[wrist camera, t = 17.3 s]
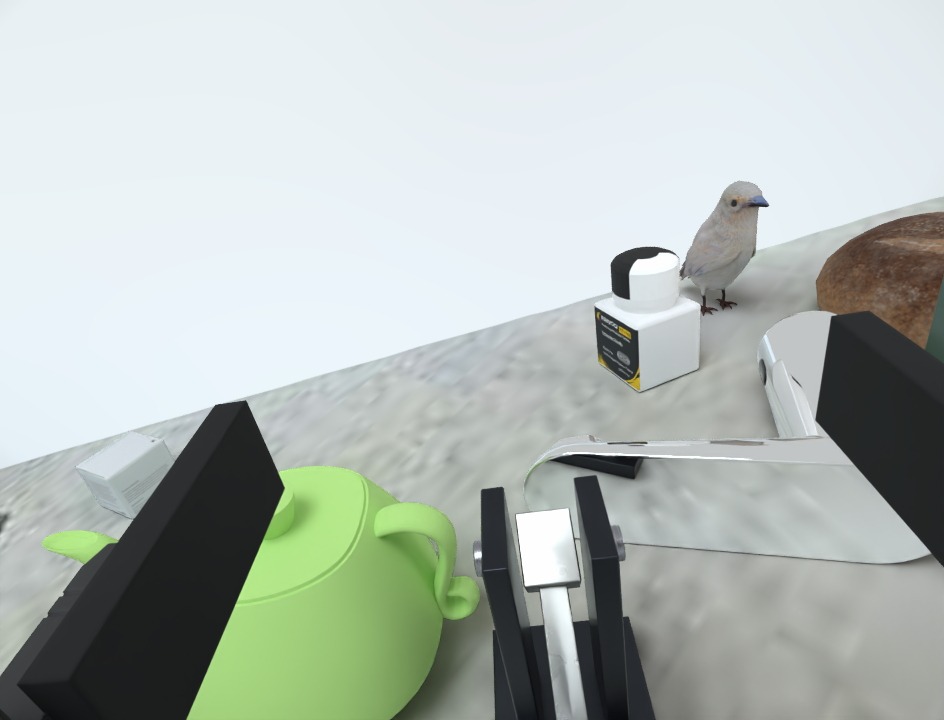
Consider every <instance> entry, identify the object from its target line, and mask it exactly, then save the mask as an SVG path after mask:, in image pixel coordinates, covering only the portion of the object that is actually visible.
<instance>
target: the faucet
mask: <svg viewBox="0 0 944 720" xmlns="http://www.w3.org/2000/svg"><path fill="white" fill-rule="evenodd" d="M834 315H838V314H836V313H832V312H827V311H806V312H801V313H797V314H793V315H791V316H788V317H786V318H784V319H782V320H781V321H779V322H777V323H776V324H774V325H773V326H772V327H771V328H770V329H769V330H768V331H767V332H766V333H765V335H764V336H763V337H762V339H761V341H760V343H759V346H758V350H757V362H758V366H759V371H760V376H761V379H762V382H763V385H764V386H765V390H766V393H767V397H768V400H769V403H770V407H771V410H772V414H773V417H774V420H775V424H776V427H777V431H778V434H779V437H773V438H732V439H690V440H648V441H606V442H602V441H601V440H599V439H598V438H596V437H594V436H591V435H582V436H575V437H569V438H563V439H561V440H559V441H558V442H556V443H555V444H554V445H553V446H552V447H551V448H550V450H548V451H546V452H545V453H543V454H541V455H540V457H539V458H538V459H537V460H536V461H535V462H534V463H533V464H532V465H531V467H530V468H529V470H528V472H527V475H526V478H525V480H524V483H523V495H524V498H525V501H526V504H527V506H528V508H529V509H530V510H531V512H535V511H543V510H552V509H560V508H569V509H570V514H571V520H572V526H573V532H574V538H580V534H579V525H578V515H577V506H576V497H575V488H574V478H575V477H582V476H590V475H597V478H598V481H599V485H600V489H601V492H602V496H603V500H604V503H605V507H606V511H607V514H608V518H609V522H610V525H611V526H612V525H619V527H620V529H621V532H622V536H623V541H624V543H634V544H646V545H657V546H669V547H681V548H693V549H705V550H717V551H729V552H741V553H753V554H765V555H777V556H789V557H801V558H813V559H825V560H837V561H849V562H861V563H879V564H887V563H899V562H904V561H909V560H914V559H917V558H920V557H923V556H926V555H929V554H931V552H930V551H929V550H928V549H927V547H926V546H925V545H924V544H923V543H922V542H921V541H920V539H919V538H918V537H917V536H916V535H915V534H914V533H913V531H912V530H911V529H910V528H909V527H908V526H907V525H906V523H905V522H904V521H903V520H902V519H901V518H900V517H899V515H898V514H897V513H896V512H895V511H894V510H893V509H892V507H891V506H890V505H889V504H888V503H887V502H886V501H885V499H884V498H883V497H882V496H881V495H880V494H879V493H878V491H877V490H876V489H875V488H874V487H873V486H872V485H871V483H870V482H869V481H868V480H867V479H866V478H865V477H864V475H863V474H862V473H861V472H860V471H859V470H858V469H857V467H856V466H855V465H854V464H853V463H852V462H851V461H850V459H849V458H848V457H847V456H846V455H845V454H844V453H843V451H842V450H841V449H840V448H839V447H838V446H837V445H836V443H835V442H834V441H833V440H832V439H831V438H830V437H829V435H828V434H827V433H826V432H825V431H824V430H823V429H822V427H821V426H820V425H819V424H818V423H817V422H816V421H815V418H816V411H817V405H818V398H819V392H820V385H821V379H822V372H823V366H824V359H825V353H826V346H827V340H828V333H829V327H830V320H831V316H834Z"/></svg>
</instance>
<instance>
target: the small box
mask: <svg viewBox="0 0 944 720" xmlns="http://www.w3.org/2000/svg"><path fill="white" fill-rule="evenodd" d="M174 462H175V461H174V459H173V457H172V455H171V453H170V451H169V450H168V448H167V446H166V444H165V442H164V441H163V440H162V439H158V438H155V437H150V436H147V435H143V434H139V433H136V432H131V431H128V432H127V433H125V434H124V435H122V436H121V437H120V438H118V439H117V440H115V441H114V442H112V443H111V444H109V445H108V446H106V447H105V448H103V449H102V450H100V451H99V452H97V453H96V454H94V455H93V456H91V457H89V458H88V459H86V460H85V461H83V462H82V463H80V464H79V465H77V466H76V467H75V468H76V470H77V471H78V473H79V474H80V476H81V477H82V479H83V480H84V482H85V483H86V485H87V486H88V488H89V489H90V491H91V492H92V494H93V495H94V497H95V498H96V500H97V501H98V503H99V504H100V505H101V506H103V507H106V508H108V509H110V510H113V511H115V512H117V513H119V514H122V515H124V516H126V517H129V518H131V519H133V518H135V517H136V516H137V514H138V513H139V512H140V510H141V509H142V507H143V506H144V505H145V503H146V502H147V500H148V499H149V497H150V496H151V495H152V493H153V492H154V490H155V489H156V488H157V486H158V485H159V483H160V482H161V481H162V479H163V478H164V476H165V475H166V474H167V472H168V471H169V469H170V468H171V467H172V465H173V464H174Z"/></svg>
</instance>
